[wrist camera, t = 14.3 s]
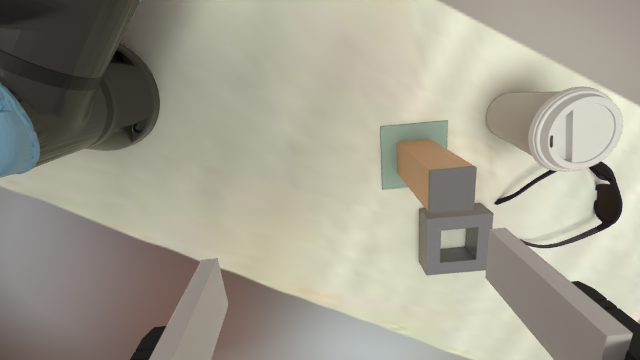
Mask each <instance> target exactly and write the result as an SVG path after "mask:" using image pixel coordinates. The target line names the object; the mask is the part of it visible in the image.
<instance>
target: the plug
mask: <svg viewBox="0 0 640 360" xmlns="http://www.w3.org/2000/svg"><path fill="white" fill-rule="evenodd" d="M476 169H477V167H475V166H473V165H472V164H470V163H469V162H467V161H465V160H464V159H462V158H460V157H459V156H457V155H455V154H454V153H452V152H451V151H449V150H447V149H446V148H444V147H442V146H441V145H439V144H437V143H436V142H434V141H432V140H431V139H425V140H414V141H403V142H397V173H398V175H399V176H400V177H401V178H402V180H403V181H404V182H405V183H406V185H407V186H408V187H409V188H410V190H411V191H412V192H413V193H414V195H415V196H416V197H417V198H418V200H419V201H420V202H421V203H422V205H423V206H424V207H425V208H426V210H427V211H428V212H429V213H441V212H452V211H463V210H474V199H475V184H476Z"/></svg>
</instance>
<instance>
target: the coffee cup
mask: <svg viewBox="0 0 640 360" xmlns="http://www.w3.org/2000/svg"><path fill="white" fill-rule="evenodd" d="M486 124H487V127H488V129H489V130H490V131H491V132H492V133H493V134H495V135H497V136H498V137H500V138H502V139H504V140H505V141H507V142H509V143H511V144H513V145H514V146H516V147H518V148H520V149H521V150H523V151H525V152H527V153H528V154H530V155H532V156H533V158H534V159H535V160H536V161H537V162H538V163H539V164H540V165H541V166H543V167H545V168H547V169H549V170H553V171H563V172H566V171H575V170H579V169H584V168H588V167H591V166H593V165H595V164H597V163H599V162H600V161H602V160H603V159H605V158H606V157H607V156H608V155H609V154H610V153H611V152H612V151H613V149H614V148H615V146H616V145H617V143H618V141H619V139H620V136H621V133H622V128H623V119H622V114H621V112H620V110H619V108H618V107H617V105H616V104H615V103H613V101H612V100H611V99H610V98H609V97H608V96H607V95H605V94H604V93H602V92H600V91H598V90H596V89H593V88H590V87H574V88H569V89H566V90H564V91H561V92H520V93H506V94H503V95H501V96H499V97H497V98H496V99H495V100H494V101H493V102H492V103H491V104H490V106H489V108H488V110H487V113H486Z"/></svg>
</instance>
